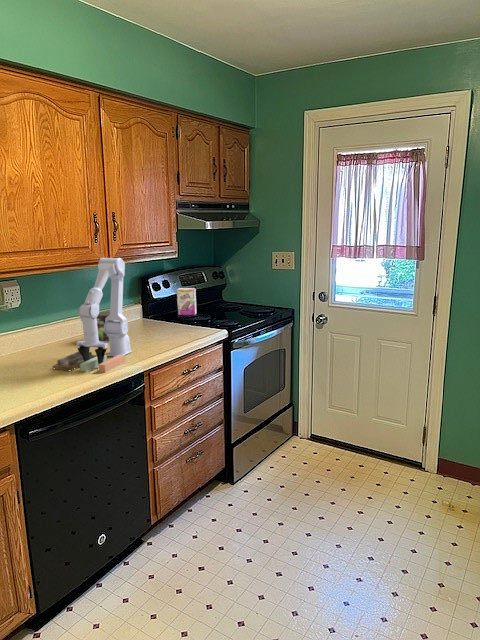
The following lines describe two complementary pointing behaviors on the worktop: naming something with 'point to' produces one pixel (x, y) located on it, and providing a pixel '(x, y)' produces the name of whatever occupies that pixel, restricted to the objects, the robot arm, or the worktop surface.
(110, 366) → the bar
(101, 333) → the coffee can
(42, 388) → the worktop surface
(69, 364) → the cradle
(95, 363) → the block
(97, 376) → the worktop surface
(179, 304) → the candy bar box
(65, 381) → the worktop surface
